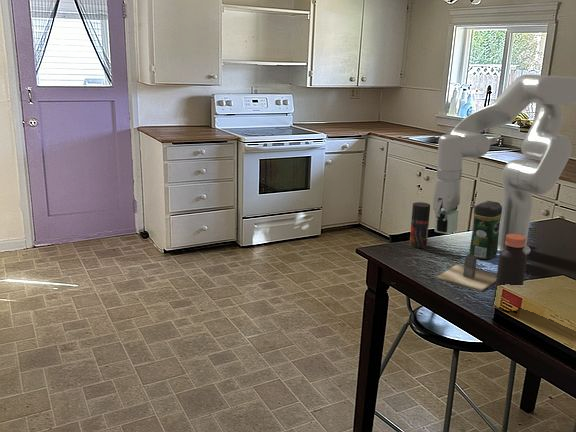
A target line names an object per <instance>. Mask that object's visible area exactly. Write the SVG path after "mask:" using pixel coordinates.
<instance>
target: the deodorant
mask: <svg viewBox="0 0 576 432" xmlns="http://www.w3.org/2000/svg"><path fill="white" fill-rule="evenodd" d="M430 211H431V204H430V203H428V202H422V201H419V202H413V203H412V210H411V219H410V220H411V221H410V233H409V234H410V235H409V236H410V237H409V246H410V247H411V248H415V249H424V248H427V245H428V236H429V235H428V234H429V224H430V213H431V212H430Z"/></svg>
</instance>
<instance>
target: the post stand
mask: <svg viewBox="0 0 576 432" xmlns="http://www.w3.org/2000/svg"><path fill="white" fill-rule="evenodd" d="M477 260H478V258H477V256H474V255H470V254H467V255H465V257H464V265H462V264H458V263H457V264H455V265H453V266H452V267H451V268H449V269H447V270H446V271H444V272H442V273H440V274H439V275H436V279H437V280H442V281H445V282H448V283H451V284H455V285H458V286H462V287H464V288H468V289H471V290H474V291H479V292H483V291H484V290H485V289H486V290H487V288H489V287H490V286H491V285H493V284H494V283H496V278H497V273H496V274H495V273H491V272H489V271H484V270H480V269H476V268H477Z"/></svg>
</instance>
